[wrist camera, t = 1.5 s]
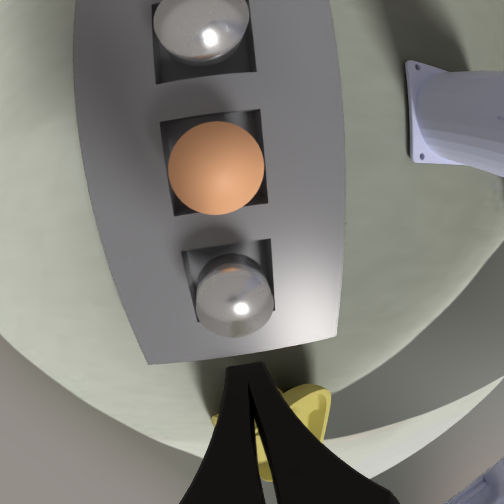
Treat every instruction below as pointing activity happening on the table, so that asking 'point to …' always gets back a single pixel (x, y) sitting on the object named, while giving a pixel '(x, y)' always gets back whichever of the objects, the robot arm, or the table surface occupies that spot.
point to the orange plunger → (216, 168)
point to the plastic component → (306, 409)
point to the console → (225, 225)
